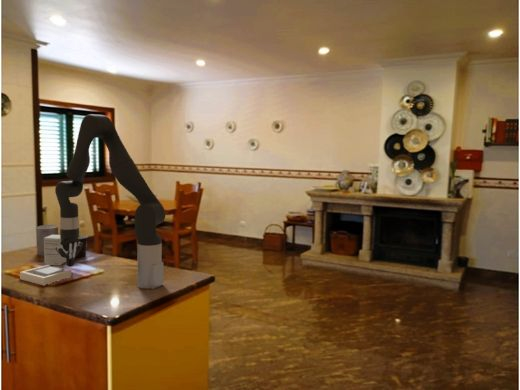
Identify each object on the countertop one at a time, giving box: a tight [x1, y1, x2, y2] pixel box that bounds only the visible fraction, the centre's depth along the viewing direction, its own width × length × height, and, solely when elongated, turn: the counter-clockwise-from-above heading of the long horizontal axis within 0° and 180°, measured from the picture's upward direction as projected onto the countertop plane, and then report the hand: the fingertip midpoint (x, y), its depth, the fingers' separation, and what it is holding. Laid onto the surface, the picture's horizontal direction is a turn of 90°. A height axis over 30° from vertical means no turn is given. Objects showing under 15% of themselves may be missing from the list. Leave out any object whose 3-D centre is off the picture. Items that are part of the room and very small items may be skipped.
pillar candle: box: [36, 223, 59, 257], centre depth 206 cm, size 10×10×15 cm
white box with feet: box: [35, 266, 64, 277], centre depth 171 cm, size 9×8×3 cm
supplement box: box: [43, 234, 66, 266], centre depth 191 cm, size 7×7×13 cm
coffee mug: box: [74, 234, 88, 260], centre depth 204 cm, size 12×9×10 cm
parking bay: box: [19, 264, 73, 286], centre depth 169 cm, size 15×13×3 cm
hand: (70, 266), depth 179 cm, fingers closed
